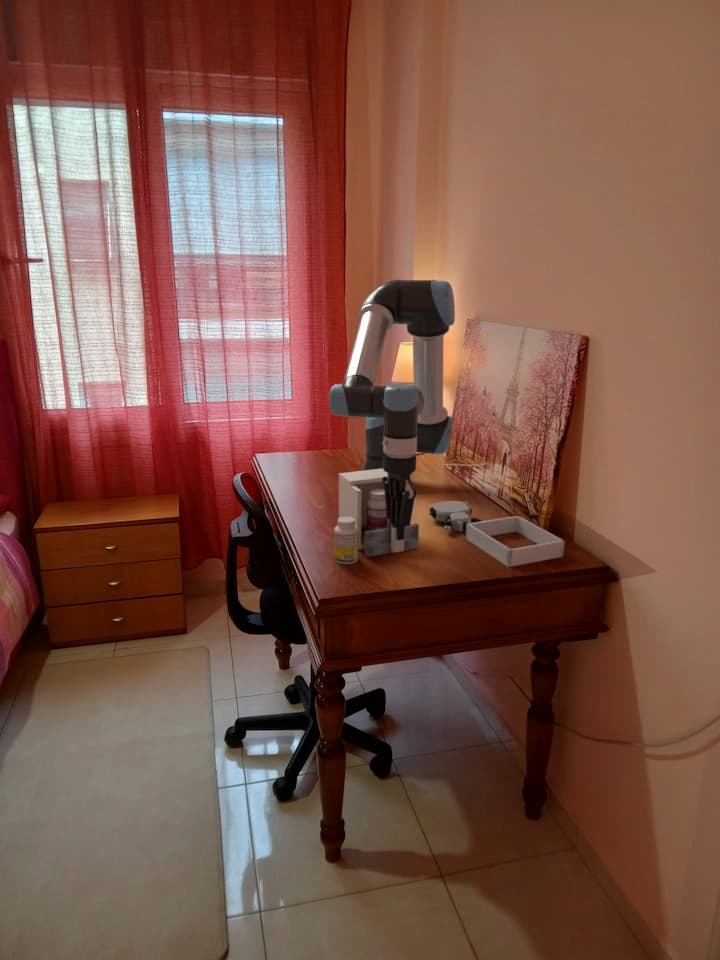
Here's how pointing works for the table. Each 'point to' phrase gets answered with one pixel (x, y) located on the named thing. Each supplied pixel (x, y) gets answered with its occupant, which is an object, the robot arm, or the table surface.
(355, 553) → the supplement bottle
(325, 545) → the table surface
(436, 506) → the robot toy
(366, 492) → the caddy
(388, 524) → the pill bottle
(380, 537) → the drawer
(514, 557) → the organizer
